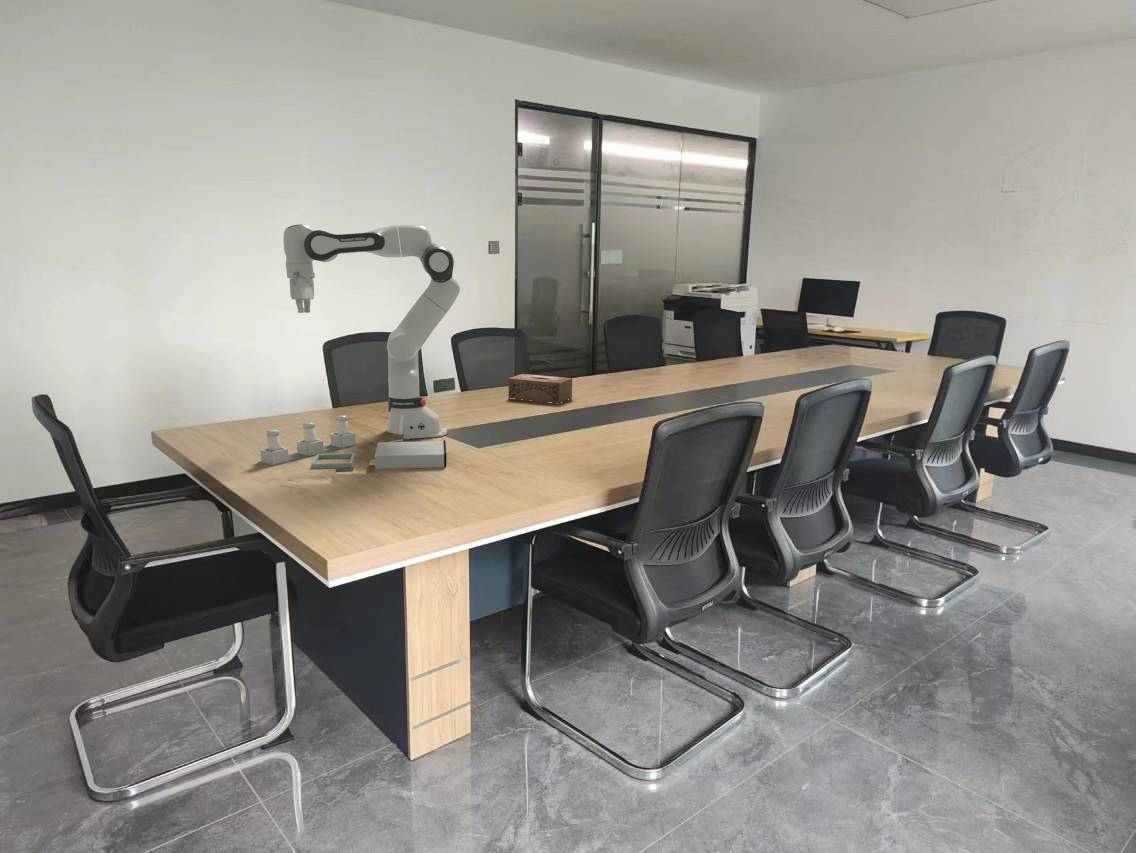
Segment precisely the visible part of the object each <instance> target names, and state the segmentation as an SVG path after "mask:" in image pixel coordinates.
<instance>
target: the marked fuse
mask: <svg viewBox="0 0 1136 853" xmlns="http://www.w3.org/2000/svg"><path fill="white" fill-rule="evenodd" d="M302 428H303V430H302V431H303V440H304V443H308V444H309V443H313V442H316V439H317V438H316V422H314V421H305V422H303V423H302Z"/></svg>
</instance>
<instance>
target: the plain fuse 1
mask: <svg viewBox="0 0 1136 853" xmlns="http://www.w3.org/2000/svg"><path fill="white" fill-rule="evenodd" d="M266 441H267V448H268V451H270V452H274V451H279V450H280V447H281V442H280V441H281V440H280V429H277V428H276V429H275V428H274V429H267V430H266Z"/></svg>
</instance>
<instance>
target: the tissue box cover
mask: <svg viewBox="0 0 1136 853" xmlns="http://www.w3.org/2000/svg"><path fill="white" fill-rule="evenodd" d="M509 398H515V399H523V400H532V401H542V402H552V403H561V402H564V401H566V400H568V399H571V398H572V399H573V378H572V377H561V376H549V375H540V374H539V375H538V374H528V373H527V374H526V373H521V374H518V375H515V376H512V377H508V399H509ZM572 399H571V400H572ZM532 401H531V402H532ZM568 401H569V400H568ZM566 402H567V401H566ZM564 403H565V402H564ZM561 404H562V403H561Z"/></svg>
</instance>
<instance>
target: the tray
mask: <svg viewBox="0 0 1136 853" xmlns="http://www.w3.org/2000/svg"><path fill="white" fill-rule="evenodd" d="M320 459H321V460H323V459H326V460H327V459H350V460H349V462H348V461H347V462H323V463H321V462H320V463H318V462H319V460H320ZM355 459H356V452H349V453H348V452H346V453H345V452H344V453H342V452H341V453H322V454H317V455H315V457H314V459H313V461H312V463H311V469H335V473H349V472H350V473H351V472H353V470H354V467H353V466H354V462H355Z"/></svg>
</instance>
